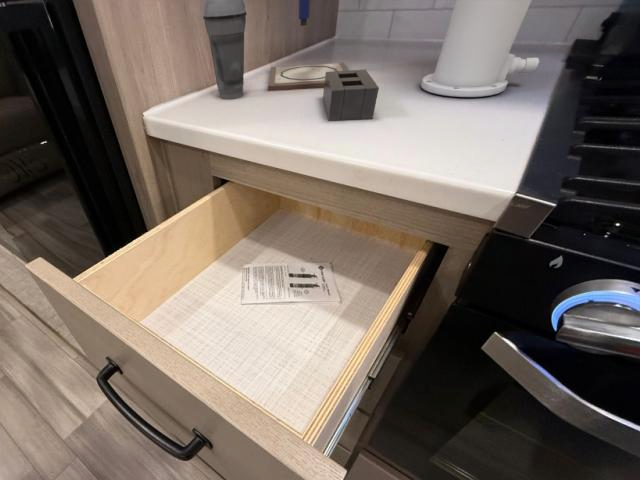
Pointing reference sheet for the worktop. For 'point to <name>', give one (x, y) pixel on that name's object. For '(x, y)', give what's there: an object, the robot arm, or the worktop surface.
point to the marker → (304, 11)
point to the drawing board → (301, 76)
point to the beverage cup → (227, 44)
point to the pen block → (349, 95)
